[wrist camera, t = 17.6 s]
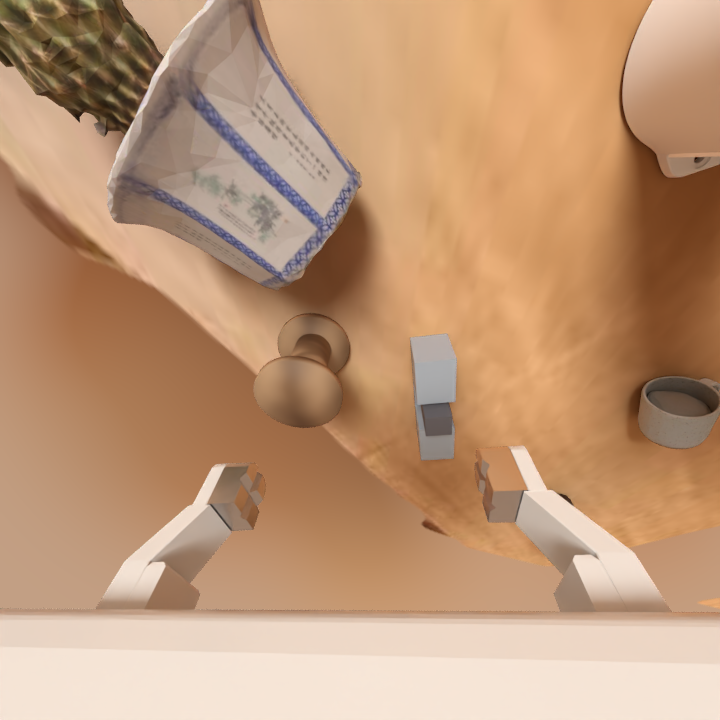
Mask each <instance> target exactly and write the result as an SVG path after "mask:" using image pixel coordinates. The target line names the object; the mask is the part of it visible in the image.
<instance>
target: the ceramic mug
mask: <svg viewBox="0 0 720 720" xmlns="http://www.w3.org/2000/svg"><path fill="white" fill-rule="evenodd" d="M719 390H720V384H719V383H718V382H715V381H713V380H710V379H707V378H702V379H700V380H696V379H693V378H688V377H681V376H665V377H659V378H656V379H653V380H651V381H649V382H648V383H646V384H645V385H644V387H643V389H642V392H641V400H640V408H639V414H638V424H639V428H640V430H641V432H642V433H643V434H644V436H646V437H647V438H648V439H649V440H651V441H652V442H654V443H656V444H658V445H661V446H664V447H667V448H672V449H688V448H693V447H695V446H697V445H699V444H701V443H702V442H703V441H704V440H705V439H706V438H707V437H708V435H709V433H710V431H711V429H712V427H713V425H714V423H715V422H716V420H717V418H718V416H719V415H720V393H719Z"/></svg>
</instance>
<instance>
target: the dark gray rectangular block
mask: <svg viewBox="0 0 720 720" xmlns="http://www.w3.org/2000/svg"><path fill="white" fill-rule="evenodd" d="M421 411H422V417H423V423H424V429H425V434H426V436H440V435H452V413H451V410H450V406H449V403H448V402H447V403H435V404H422V405H421Z"/></svg>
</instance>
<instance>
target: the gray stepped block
mask: <svg viewBox="0 0 720 720" xmlns="http://www.w3.org/2000/svg"><path fill="white" fill-rule="evenodd" d="M410 344H411V357H412V371H413V384H414V398H415V411H416V425H417V435H418V442H419V449H420V456H421V460H438V459H454V433H455V427H454V424H453V420H452V435H440V436H426V434H425V429H424V423H423V417H422V411H421V405H422V404H435V403H447V402H455V399H456V365H457V358H456V356H455V353H454V350H453V348H452V345H451V342H450V340H449V337H448V335H447V334H439V335H430V336H421V337H412V338H410Z"/></svg>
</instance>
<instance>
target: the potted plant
mask: <svg viewBox="0 0 720 720" xmlns="http://www.w3.org/2000/svg"><path fill="white" fill-rule="evenodd" d="M0 61H1V62H2V63H3V64H4V65H5V66H6V67H13V66H15V67H16V68H17V70H18V71H19V72H20V74H21V75H22V76H23V78H24V79H25V80H26V82H27V83H28V84H29V85H30V87H31V88H32V89H33V91H34V92H35V93H36V95H41V96H46V97H48V98H49V99H51V100H52V101H53V102H55V103H56V104H58V105H59V106H61V107H64V108H65V109H66V110H67V111H68V112H69V113H71V114H72V115H73V116H74V117H75V118H76V119H77V120H78V121H79V122H80V118H79V117H80V116H81V115H82V114H83V113H84V112H86V113H90V114H92V115H94V116H95V118H96V119H97V120H98V121H99V122H97V123H95V124H94V126H95V128H96V131H97V133H99V134H100V135H102V136H103V137H105V135H106V134H107V132H108V131H122V132H123V133H124V134H125V137H124V139H123V141H122V143H121V145H120V147H119V149H118V151H117V153H116V160H115V162H114V165H113V167H112V170H111V172H110V175H109V177H108V184H107V189H108V208H109V211H110V214H111V216H112V218H113V220H114V221H115V222H117V223H125V224H140V225H147V226H151V227H155V228H159V229H162V230H164V231H166V232H168V233H170V234H173V235H175V236H177V237H179V238H181V239H183V240H185V241H187V242H189V243H191V244H193V245H195V246H197V247H198V248H200V249H202V250H203V251H205V252H207V253H208V254H210V255H212V256H213V257H215V258H216V259H218V260H219V261H221V262H223V263H225V264H227V265H229V266H230V267H232V268H233V269H235V270H236V271H238V272H239V273H241V274H243V275H245V276H247V277H248V278H250V279H252V280H254V281H256V282H257V283H259V284H261V285H263V286H265V287H267V288H271V289H274V290H279V289H280V288H281V287H284V286H289V285H290V284H291V283H292V282H293V281H295V280H298V279H300V278H301V277H302V276H303V274H304V272H305V270H306V268H307V266H308V265H309V263H310V262H311V260H312V259H313V257H314V256H315V255H316V254H317V253H318V252H319V251H320V250H321V249H322V247H323V246H324V244H325V242H326V241H327V239H328V238H329V237H330V236H331V235H332V234H333V233H334V232H335V231H336V230H337V229H338V228H339V227H340V226H341V224H342V222H343V220H344V219H345V217H346V215H347V212H348V209H349V206H350V204H351V203H352V201H353V200H354V198H355V195H356V193H357V190H358V188H360V187H361V186H362V177H361V175H360V173H359V172H357V171H356V169H355V168H354V167H353V165H352V164H351V163H350V162H349V160H348V159H347V158H346V157H345V155H344V154H343V153H342V152H341V151H340V149H339V148H338V147H337V146H336V144H335V143H334V142H333V141H332V139H331V138H330V137H329V135H328V134H327V133H326V132H325V130H324V129H323V128H322V126H321V125H320V124H319V122H318V121H317V120H316V118H315V117H314V115H313V114H312V113H311V111H310V110H309V108H308V107H307V106H306V104H305V103H304V101H303V100H302V98H301V97H300V95H299V94H298V92H297V91H296V89H295V88H294V86H293V85H292V83H291V81H290V80H289V78H288V76H287V74H286V73H285V71H284V69H283V67H282V65H281V63H280V61H279V59H278V57H277V54H276V52H275V49H274V47H273V44H272V42H271V39H270V35H269V32H268V29H267V25H266V22H265V19H264V15H263V12H262V8H261V5H260V1H259V0H207V2H206V4H205V5H204V7H203V9H202V10H200V11H199V12H198V13H197V14H196V15H195V16H194V17H193V19H192V20H191V21H190V22H189V23H188V24H187V25H186V26H185V27H184V28H183V30H182V31H181V32H180V33H179V35H178V36H177V37H176V39H175V40H174V41H173V43H172V45H171V46H170V48H169V50H168V51H167V53H166V55H165V57H164V56H163V55H162V54H160V53H159V52H158V50H157V48H156V46H155V44H154V42H153V41H152V39H151V38H150V37H149V36H148V34H147V32H146V31H145V29H144V28H143V27H142V26H140V25H139V24H138V23H137V22H136V21H135V20H134V19H133V17H132V15H131V14H130V13H129V11H128V10H127V9H126V8H125V7H124V5H123V1H122V0H0Z"/></svg>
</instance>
